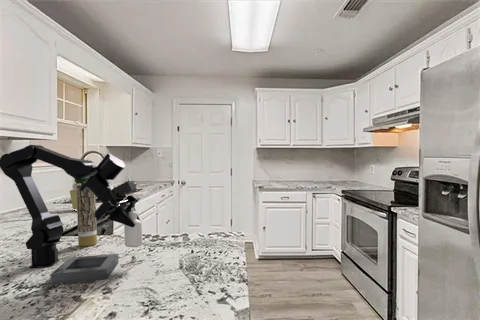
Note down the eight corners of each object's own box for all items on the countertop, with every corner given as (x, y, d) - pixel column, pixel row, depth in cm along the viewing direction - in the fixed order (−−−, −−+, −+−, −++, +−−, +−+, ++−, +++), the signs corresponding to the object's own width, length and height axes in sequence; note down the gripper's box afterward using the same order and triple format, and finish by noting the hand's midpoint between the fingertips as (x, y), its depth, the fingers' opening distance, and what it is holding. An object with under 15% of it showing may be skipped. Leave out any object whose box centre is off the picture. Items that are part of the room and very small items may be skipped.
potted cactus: (64, 212, 210) (63, 169, 210) (81, 208, 225) (79, 168, 225) (83, 212, 207) (82, 168, 207) (99, 208, 222) (97, 168, 222)
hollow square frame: (51, 285, 83) (50, 274, 83) (70, 266, 97) (70, 257, 97) (107, 279, 85) (107, 268, 85) (118, 262, 99) (118, 253, 99)
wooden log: (89, 247, 119) (87, 183, 119) (74, 246, 120) (72, 184, 120) (100, 242, 126) (98, 182, 126) (86, 242, 127) (84, 182, 127)
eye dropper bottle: (129, 249, 92) (128, 209, 92) (123, 245, 97) (122, 207, 97) (143, 246, 95) (142, 208, 95) (137, 242, 99) (136, 206, 99)
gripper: (102, 173, 87) (140, 212, 86) (133, 171, 106) (164, 202, 104) (78, 201, 88) (114, 239, 87) (113, 193, 107) (143, 225, 105)
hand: (137, 224), depth 96 cm, fingers closed on eye dropper bottle, 4 cm apart
